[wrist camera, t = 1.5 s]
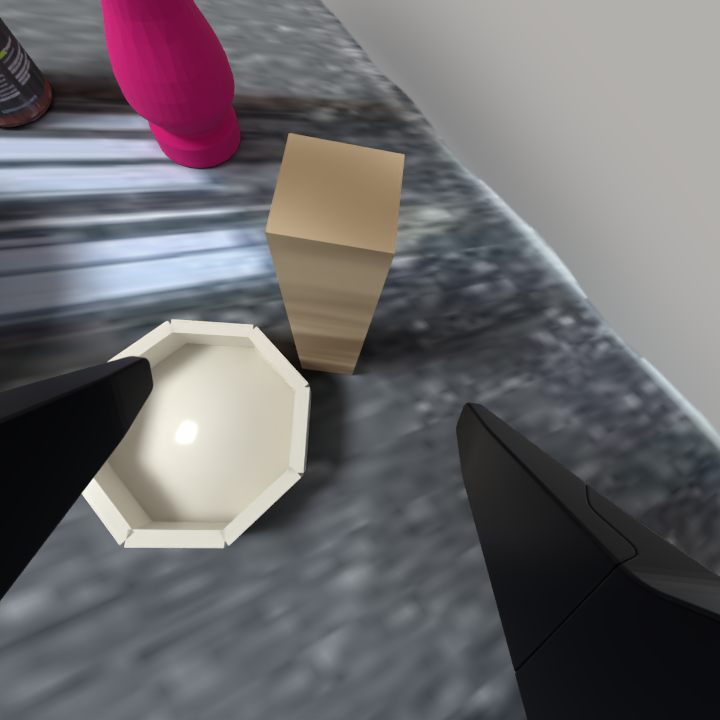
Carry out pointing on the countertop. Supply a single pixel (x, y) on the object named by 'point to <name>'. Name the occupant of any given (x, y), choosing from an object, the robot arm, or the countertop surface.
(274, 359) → the bowl
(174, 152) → the pepper mill
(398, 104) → the countertop surface
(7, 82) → the supplement bottle
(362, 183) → the tall wooden post
